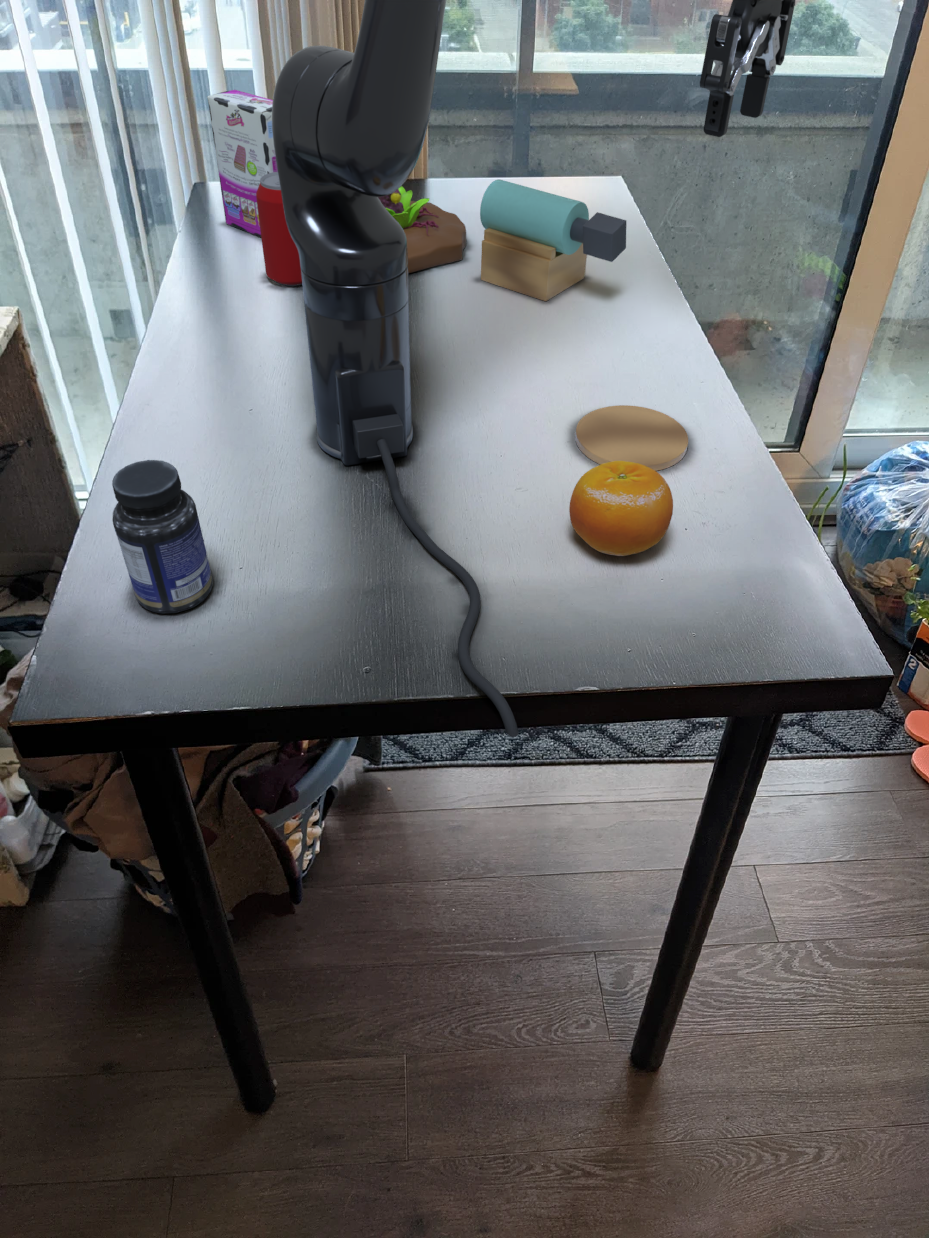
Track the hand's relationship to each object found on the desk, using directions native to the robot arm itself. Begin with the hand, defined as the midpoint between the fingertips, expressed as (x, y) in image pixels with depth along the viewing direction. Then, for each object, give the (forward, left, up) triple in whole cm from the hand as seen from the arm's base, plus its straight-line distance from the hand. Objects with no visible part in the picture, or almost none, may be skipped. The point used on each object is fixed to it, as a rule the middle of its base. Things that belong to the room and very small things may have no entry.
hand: (732, 125), depth 97 cm
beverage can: (+27, +42, -22) cm, 55 cm away
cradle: (+19, +13, -22) cm, 32 cm away
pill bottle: (-30, +62, -22) cm, 73 cm away
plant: (+34, +27, -22) cm, 49 cm away
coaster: (-20, +17, -22) cm, 35 cm away
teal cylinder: (+16, +12, -14) cm, 24 cm away
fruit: (-34, +25, -22) cm, 48 cm away
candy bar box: (+44, +43, -22) cm, 66 cm away
